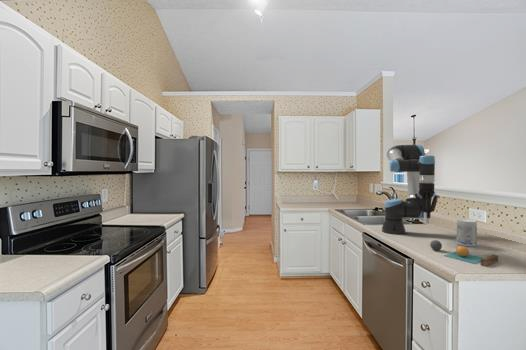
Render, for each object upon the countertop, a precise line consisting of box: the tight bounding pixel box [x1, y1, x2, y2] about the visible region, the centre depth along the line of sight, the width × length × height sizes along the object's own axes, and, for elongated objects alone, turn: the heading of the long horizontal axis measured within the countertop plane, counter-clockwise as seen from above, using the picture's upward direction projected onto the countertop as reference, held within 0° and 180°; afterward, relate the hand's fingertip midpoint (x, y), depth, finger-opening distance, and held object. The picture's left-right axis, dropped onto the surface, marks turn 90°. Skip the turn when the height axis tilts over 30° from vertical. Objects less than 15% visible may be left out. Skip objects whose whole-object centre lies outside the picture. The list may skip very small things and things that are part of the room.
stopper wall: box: [480, 254, 499, 267], centre depth 129 cm, size 2×13×3 cm, turn 120°
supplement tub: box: [456, 218, 478, 248], centre depth 160 cm, size 10×10×15 cm
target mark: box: [443, 251, 485, 265], centre depth 138 cm, size 14×14×1 cm
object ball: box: [455, 245, 470, 257], centre depth 139 cm, size 6×6×6 cm
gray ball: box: [429, 239, 443, 251], centre depth 150 cm, size 6×6×6 cm
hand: (426, 223), depth 155 cm, fingers closed
